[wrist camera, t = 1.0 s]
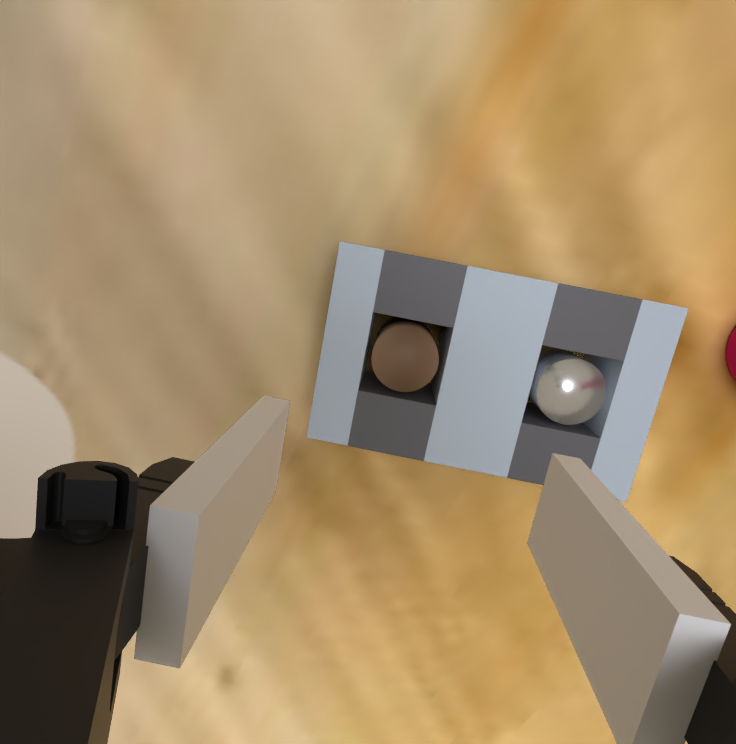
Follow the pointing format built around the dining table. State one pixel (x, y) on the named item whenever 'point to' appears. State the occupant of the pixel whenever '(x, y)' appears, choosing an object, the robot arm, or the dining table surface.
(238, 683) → the dining table surface
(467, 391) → the socket block
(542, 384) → the grey metal peg
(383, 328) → the walnut peg
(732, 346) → the pepper mill
